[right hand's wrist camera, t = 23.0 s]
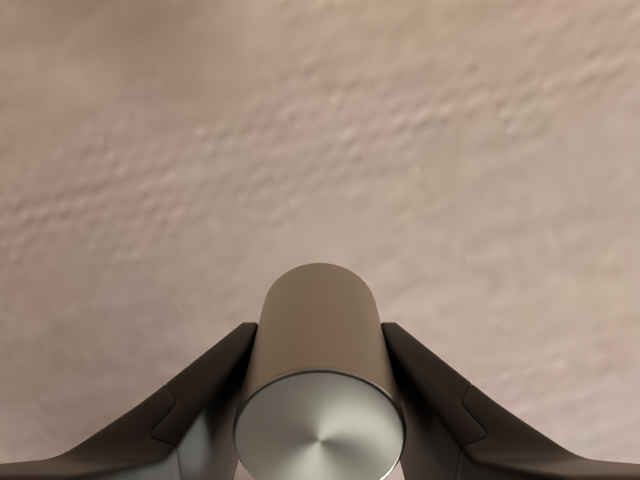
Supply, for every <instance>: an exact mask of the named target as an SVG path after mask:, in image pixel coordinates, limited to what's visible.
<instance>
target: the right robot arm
mask: <svg viewBox="0 0 640 480" xmlns="http://www.w3.org/2000/svg"><path fill="white" fill-rule="evenodd" d="M381 327H382V331H383V335H384V339H385V343H386V347H387V350H388V354H389V358H390V362H391V366H392V370H393V374H394V378H395V382H396V386H397V390H398V394H399V398H400V402H401V406H402V410H403V414H404V418H405V423H406V442H405V447H404V450H403V453H402V456H401V458H400V463H401V467H402V470H403V474H404V478H405V480H640V464H631V463H620V462H609V461H598V460H591V459H587V458H584V457H581V456H578V455H576V454H574V453H572V452H570V451H568V450H566V449H564V448H563V447H561V446H559V445H558V444H556V443H555V442H553V441H552V440H550V439H549V438H547V437H546V436H544V435H543V434H541V433H540V432H538V431H537V430H535V429H534V428H532V427H531V426H529V425H528V424H526V423H525V422H523V421H522V420H520V419H519V418H517V417H516V416H514V415H513V414H512V413H510V412H509V411H507V410H506V409H504V408H503V407H501V406H500V405H499V404H497V403H496V402H495V401H493V400H492V399H491V398H489V397H488V396H487V395H485V394H484V393H483V392H482V391H480V390H479V389H478V388H477V387H475V386H474V385H471V383H470V382H469V381H468V380H466V379H465V378H464V377H463V376H461V375H460V374H459V373H458V372H456V371H455V370H454V369H453V368H451V367H450V366H449V365H448V364H446V363H445V362H444V361H443V360H441V359H440V358H439V357H438V356H436V355H435V354H434V353H433V352H431V351H430V350H429V349H428V348H426V347H425V346H424V345H423V344H421V343H420V342H419V341H418V340H416V339H415V338H414V337H413V336H412V335H410V334H409V333H408V332H407V331H405V330H404V329H403V328H402V327H400V326H399V325H398V324H396V323H381ZM257 328H258V324H257V323H242V324H241V325H239V326H238V327H237V328H236V329H234V330H233V331H232V332H231V333H229V334H228V335H227V336H226V337H224V338H223V339H222V340H221V341H219V342H218V343H217V344H216V345H214V346H213V347H212V348H210V349H209V350H208V351H207V352H205V353H204V354H203V355H202V356H200V357H199V358H198V359H197V360H195V361H194V362H193V363H192V364H190V365H189V366H188V367H187V368H185V369H184V370H183V371H182V372H180V373H179V374H178V375H177V376H175V377H174V378H173V379H171V380H170V381H169V382H168V383H167V384H166V385H164V386H163V387H161V388H160V389H159V390H157V391H156V392H155V393H154V394H152V395H151V396H150V397H148V398H147V399H146V400H144V401H143V402H142V403H140V404H139V405H138V406H136V407H135V408H133V409H132V410H130V411H129V412H127V413H126V414H125V415H123V416H122V417H120V418H119V419H117V420H116V421H114V422H113V423H111V424H110V425H108V426H107V427H105V428H103V429H102V430H100V431H99V432H97V433H96V434H94V435H93V436H91V437H90V438H88V439H87V440H85V441H84V442H82V443H81V444H79V445H78V446H76V447H75V448H73V449H71V450H70V451H68V452H66V453H64V454H61V455H59V456H56V457H53V458H50V459H46V460H39V461H28V462H17V463H6V464H0V480H233V479H234V475H235V471H236V467H237V463H238V460H239V457H238V455H237V452H236V450H235V446H234V441H233V423H234V418H235V414H236V410H237V407H238V403H239V399H240V395H241V391H242V387H243V383H244V379H245V375H246V371H247V367H248V364H249V360H250V356H251V352H252V348H253V344H254V340H255V336H256V332H257Z"/></svg>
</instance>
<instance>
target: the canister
mask: <svg viewBox="0 0 640 480" xmlns="http://www.w3.org/2000/svg"><path fill="white" fill-rule="evenodd" d="M233 441H234V446H235V450H236V452H237V455H238V457H239V459H240V461H241V463H242V464H243V466H244V467H245V469H246V470H247V471H248V472H249V473H250V474H251V475H252V476H253V477H254V478H255V479H256V480H383V479H384V478H385V477H387V475H388V474H389V473H390V472H391V471H392V470H393V469H394V467H395V466H396V465H397V463H398V461H399V459H400V458H401V456H402V453H403V450H404V447H405V442H406V423H405V418H404V414H403V410H402V406H401V402H400V398H399V394H398V390H397V386H396V382H395V378H394V374H393V370H392V366H391V362H390V358H389V354H388V350H387V347H386V343H385V339H384V335H383V331H382V327H381V323H380V319H379V315H378V311H377V307H376V303H375V300H374V297H373V294H372V292H371V291H370V289H369V287H368V286H367V285H366V283H365V282H364V281H363V280H362V279H361V278H360V277H358V276H357V275H356V274H355V273H353V272H351V271H349V270H348V269H345V268H343V267H340V266H337V265H333V264H327V263H313V264H307V265H302V266H300V267H297V268H294V269H292V270H290V271H288V272H287V273H285V274H284V275H282V276H281V277H280V278H279V279H278V280H277V281H276V282H275V283H274V284H273V285H272V287H271V288H270V290H269V291H268V293H267V296H266V298H265V301H264V305H263V309H262V313H261V317H260V321H259V325H258V328H257V332H256V336H255V340H254V344H253V348H252V352H251V356H250V360H249V364H248V367H247V371H246V375H245V379H244V383H243V387H242V391H241V395H240V399H239V403H238V407H237V410H236V414H235V418H234V423H233Z"/></svg>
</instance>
